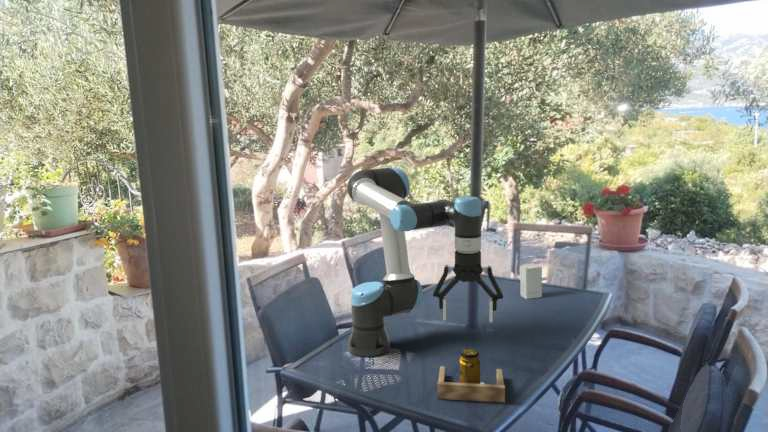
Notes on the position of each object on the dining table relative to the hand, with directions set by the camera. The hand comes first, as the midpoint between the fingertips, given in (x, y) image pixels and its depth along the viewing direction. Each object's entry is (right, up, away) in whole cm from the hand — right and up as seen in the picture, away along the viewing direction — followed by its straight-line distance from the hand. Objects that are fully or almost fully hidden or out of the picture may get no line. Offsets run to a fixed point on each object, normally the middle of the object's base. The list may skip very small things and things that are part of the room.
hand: (467, 319), depth 147 cm
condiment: (+2, -21, +1) cm, 21 cm away
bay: (+1, -21, +2) cm, 21 cm away
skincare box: (+43, -7, +83) cm, 94 cm away
